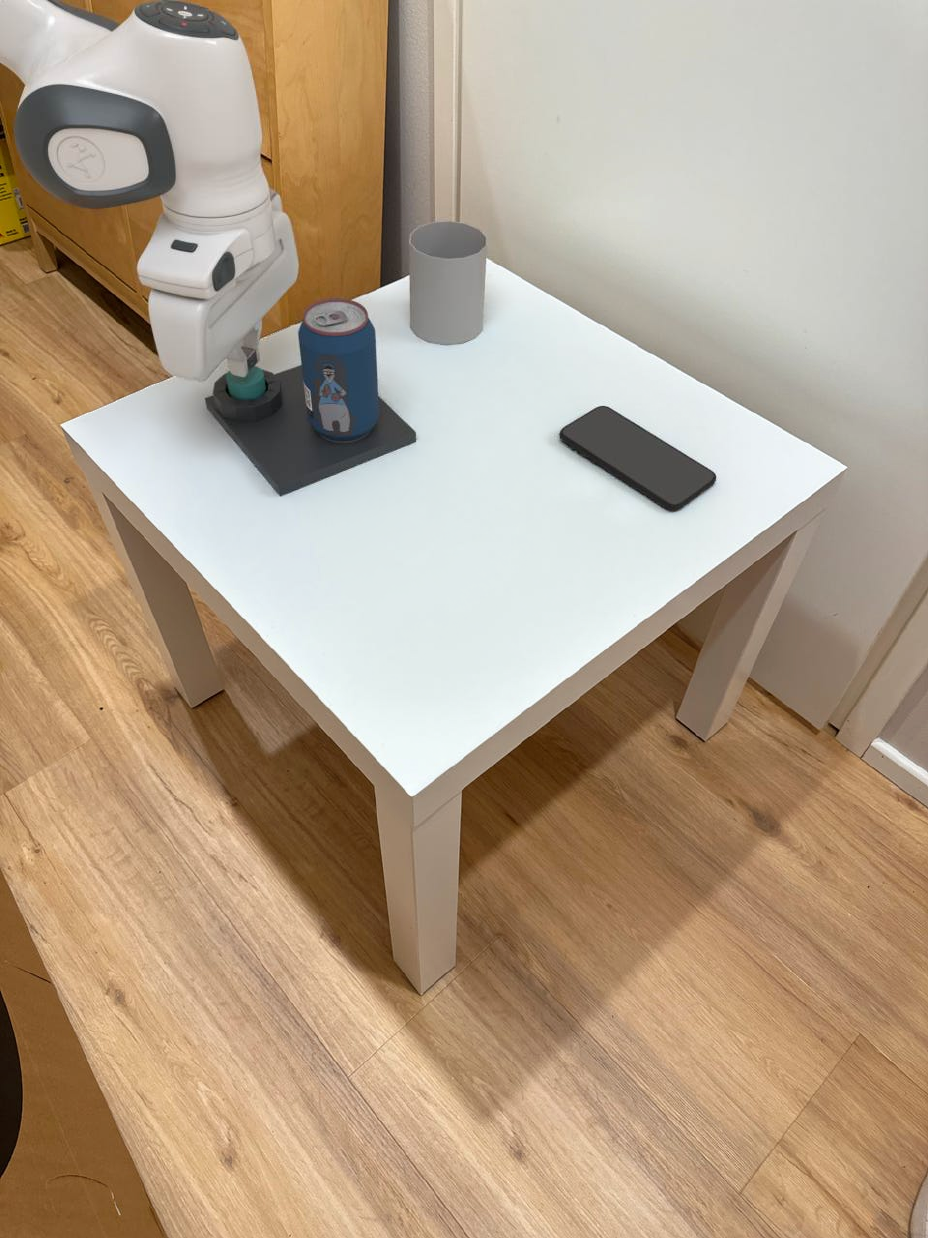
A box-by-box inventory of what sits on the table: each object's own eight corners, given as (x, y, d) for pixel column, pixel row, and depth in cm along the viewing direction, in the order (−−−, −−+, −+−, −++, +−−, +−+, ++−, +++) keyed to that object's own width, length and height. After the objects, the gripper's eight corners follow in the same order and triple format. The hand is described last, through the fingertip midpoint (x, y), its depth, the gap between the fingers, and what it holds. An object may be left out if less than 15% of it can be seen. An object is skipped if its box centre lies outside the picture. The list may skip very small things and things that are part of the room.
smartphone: (675, 510, 84) (554, 431, 90) (673, 517, 84) (553, 438, 91) (722, 474, 87) (602, 401, 94) (719, 482, 88) (601, 408, 94)
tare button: (238, 405, 89) (236, 389, 87) (222, 386, 91) (219, 371, 89) (272, 393, 90) (270, 378, 89) (255, 375, 92) (253, 360, 91)
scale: (280, 496, 84) (276, 471, 82) (205, 406, 93) (200, 381, 90) (416, 441, 90) (416, 416, 88) (334, 361, 99) (332, 337, 96)
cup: (399, 312, 105) (397, 228, 98) (463, 298, 108) (466, 215, 100) (428, 351, 100) (428, 265, 93) (495, 335, 103) (500, 250, 95)
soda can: (364, 397, 92) (358, 288, 83) (390, 437, 88) (386, 326, 79) (299, 413, 90) (285, 302, 81) (322, 454, 86) (310, 343, 77)
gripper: (245, 172, 85) (264, 308, 95) (123, 276, 72) (161, 420, 82) (307, 184, 84) (320, 320, 94) (195, 292, 71) (224, 435, 81)
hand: (245, 368), depth 88 cm, fingers closed
